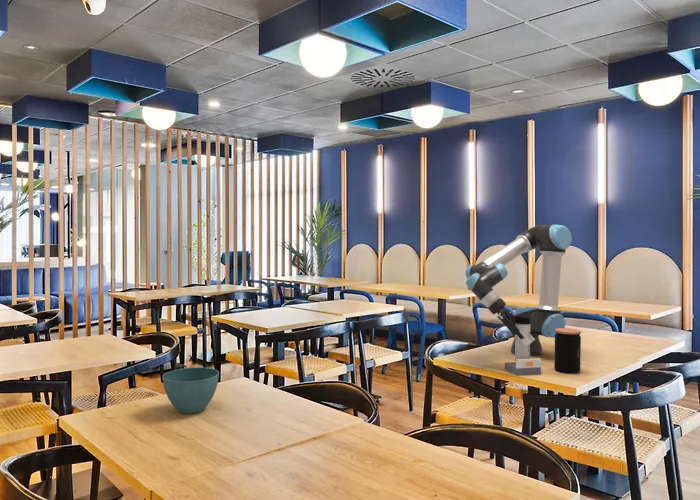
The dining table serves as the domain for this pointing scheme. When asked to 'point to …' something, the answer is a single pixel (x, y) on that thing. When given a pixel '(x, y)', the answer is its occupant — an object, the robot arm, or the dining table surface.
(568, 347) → the coffee jar
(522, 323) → the travel mug
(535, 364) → the display riser
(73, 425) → the dining table surface
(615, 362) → the dining table surface
